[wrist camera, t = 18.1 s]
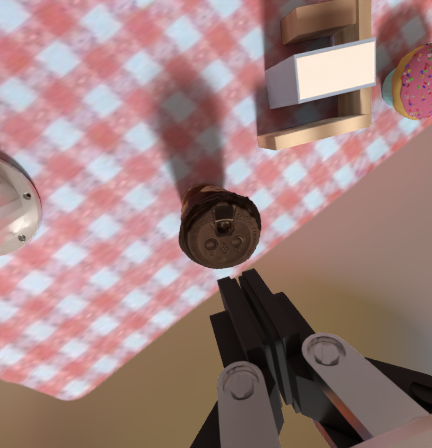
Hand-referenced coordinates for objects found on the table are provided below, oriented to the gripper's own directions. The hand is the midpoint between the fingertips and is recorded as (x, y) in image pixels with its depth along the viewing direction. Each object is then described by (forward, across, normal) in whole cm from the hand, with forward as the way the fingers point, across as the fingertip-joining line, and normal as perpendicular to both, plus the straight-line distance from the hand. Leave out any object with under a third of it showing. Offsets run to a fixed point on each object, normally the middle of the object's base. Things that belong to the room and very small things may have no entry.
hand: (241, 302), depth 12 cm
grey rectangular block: (+27, -18, -9) cm, 34 cm away
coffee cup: (+27, -2, +3) cm, 27 cm away
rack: (+27, -17, -9) cm, 33 cm away
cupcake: (+27, -32, -5) cm, 42 cm away
